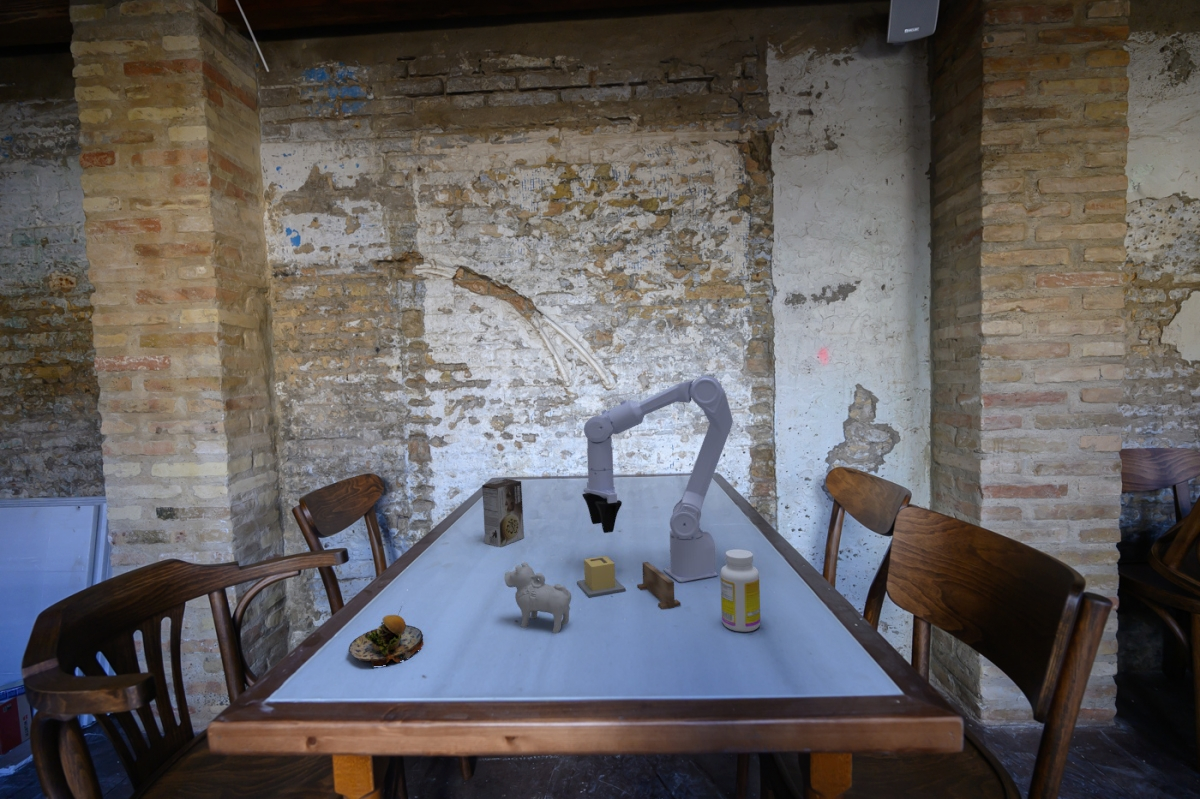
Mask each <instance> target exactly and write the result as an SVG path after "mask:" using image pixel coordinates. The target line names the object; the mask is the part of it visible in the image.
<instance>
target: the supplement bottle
mask: <svg viewBox="0 0 1200 799" xmlns="http://www.w3.org/2000/svg"><path fill="white" fill-rule="evenodd" d="M725 561H726V564H725V565H724V566H722V567H721V569H720V597H721V598H720V602H721V603H720V605H721V621H722V624H723V625H724V626H725V627H726V629H729V630H731V631H735V632H742V633H745V632H746V633H747V632H753V631H755V630H757V629H758V628H759V627H760V625H761V599H760V597H761V595H760V594H761V592H760V591H761V590H760V572H759V570H758V569H757V567H755V566H754V565H753V562H754V553H752V552H751V551H750V550H746V549H729V550H727V551H725Z"/></svg>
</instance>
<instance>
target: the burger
mask: <svg viewBox="0 0 1200 799" xmlns="http://www.w3.org/2000/svg"><path fill="white" fill-rule="evenodd" d="M402 607H403V605H402V606H400V610H399V612H398V614H388V615H385V616H384V617H383V618H382V622H381V623H380V625H379V626H378V627H377V628H374V629H371V630H370V631H367V632H365V633H363V634H361V635H359V636H357V638H355V639H353V641H352V642H351V643H350V644H349V647H348V649H347V650H348V653H349V654H351V655H352V656H353V657H354V658H355V659H357V660H359V661H366V662H371V664H372V667H373V668H374V666H383V665H386V664H387V665H388V662H390V660H393V661H394V662H396V663H397V664H398V663H399V662H400V661H402V660H404V661H405V660H408V659H407V658H409V659H410V658H411V656H412V655H414V654H415V653H416V652H418V650H420V651H421V650H422V649H421V647H422V648H423V645H424V634H423V631H422V630H421V629H420V628H417V627H416V626H412V625H407V624H406V621H405V619H404V618H403V617H402V616H401V615H399V614H400V613H401V610H402ZM400 663H401V662H400Z"/></svg>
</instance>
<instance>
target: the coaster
mask: <svg viewBox="0 0 1200 799" xmlns="http://www.w3.org/2000/svg"><path fill="white" fill-rule="evenodd" d="M576 585H577V586H578V587H579V588H580V589H581V590H582V592H583V593H584V594H585V595H586V596H587V597H588V598H590V599H591V598H595V597H600V596H606V595H607V596H608V595H612V594H617V593H623V592H627V591H626V587H625V586H624V585H622V583H621V582H619V580H618V579H616V578H615V587H612V588H606V589H601V590H595V591H592V590H591V589H590V588H589V586H588V585H587V584H586V583H585V579H581V580H576Z"/></svg>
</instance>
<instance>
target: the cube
mask: <svg viewBox="0 0 1200 799" xmlns="http://www.w3.org/2000/svg"><path fill="white" fill-rule="evenodd" d="M583 566H584V567H583V568H584V580H585V583H586V584H587V585H588V586H589V588H590V589H591V590H592V591H595V590H601V589H606V588H612V587H615V579H616V569H615V568H616V567H615V561H612V560H611V559H610V557H608V556H607V555H605V556H598V557H590V558H585V559H583Z"/></svg>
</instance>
